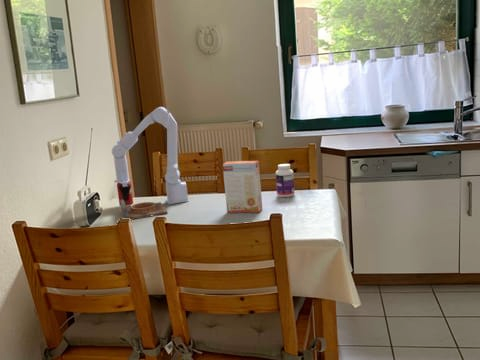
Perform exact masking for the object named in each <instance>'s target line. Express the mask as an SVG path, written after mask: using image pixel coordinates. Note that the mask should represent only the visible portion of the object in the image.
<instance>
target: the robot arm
mask: <svg viewBox="0 0 480 360" xmlns="http://www.w3.org/2000/svg"><path fill="white" fill-rule="evenodd" d="M155 123H158V124H160V125H162V126H163V127H164V128H165V129H166V150H167V151H166V152H167V153H166V159H167V161H166V173H165V174H164V180H165V190H166V191H165V192H166V199H165V202H166V203H167V205H174V204H180V203H186V202H189V195H188V188H187V183H186V181H182V180H181V179H180V176H181V171H180V170H179V165H178V164H179V162H178V123H177V121H176V120H175V118H174V116H173V115H172V113H171V112H170V111H169V110H168V109H167V108H166V107H164V106H159V107H157V108H155V109H154V110H153V111H151V112H150V113H149V114H147V115H146V116H145V117H144V118H143V119H142V120H141V121H140V123H139V124H138V125H137V126H136V127H135V128H134V129H133V131H127V132H124V133H123V137H122V138H121V139H120V140H118V141H117V142H116V143H117V144H115V145H114V146H113V147H112V149H111V154H112V156H113V160H114V162H113V163H114V168H115V169H114V170H115V176H116V179H115V180H114V181H113V183H115V184H116V185H117V184H118V183H121V184H122V186H118V188H119V189H120V191H121V193H122V196H123V199H124V201H127V200H129V191H130V188H131V189H132V184H131V185H128V186H127V183H128V182H130V181H131V179H130V174H129V167H128V159H127V155H126V154H127V153H128V151H129V150H130V149H132V147H134V145H135V144H136V143H137V142H138V141H139V136H140V134H141V133H143V131H145V129H147V127H149V125H153V124H155Z"/></svg>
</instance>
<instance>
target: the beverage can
mask: <svg viewBox="0 0 480 360" xmlns="http://www.w3.org/2000/svg"><path fill="white" fill-rule="evenodd" d="M128 185H131V186H132V183H131V182H130V181H129V182H128V183H127V186H128ZM118 186H122V184H121V183H118V184H117V183H116V188H117V196H118V204H119V206H120V207H121V204H120V200H122V199H123V196H122V193H121V191H120V189H119V188H118ZM133 198H134V197H133V191H132V187H131V188H130V191H129V200H127V201H124V202H125V205H126V207H129V206H131V205H134V199H133ZM123 200H124V199H123Z"/></svg>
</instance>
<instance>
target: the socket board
mask: <svg viewBox="0 0 480 360" xmlns="http://www.w3.org/2000/svg"><path fill="white" fill-rule="evenodd" d="M120 204H121V206H120V209H121V210H120V211H121V213H122V216H123V219H124V218H130V219H132V220H135V219H134V218H138V219H141V218H140V217H144V218H147V217H146V216H150V217H152V216H151V215H157V216H161V215H168V214H169V213H168V211H167V209H166V207H165V206H164V205H163V203H162V202H154V201H153V202H152V201H144V202H137V203H135V204H134V203H133V204H132V206H130V207H126V205H125V202H124V200H123V199H122V200H120Z"/></svg>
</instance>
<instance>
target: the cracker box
mask: <svg viewBox="0 0 480 360" xmlns="http://www.w3.org/2000/svg"><path fill="white" fill-rule="evenodd" d="M259 163H260V162H259V160H235V161H226V162H224V163H222V169H223V170H222V171H223V182H224V183H223V184H224V193H225V203H226V204H225V205H226V212H227V213H249V214H250V213H253V214H255V213H256V214H257V213H260V212H261V211H262V210H263V201H262V200H263V199H262V197H263V196H262V189H261V188H262V185H261V178H260V177H261V174H260V173H261V172H260V164H259Z"/></svg>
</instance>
